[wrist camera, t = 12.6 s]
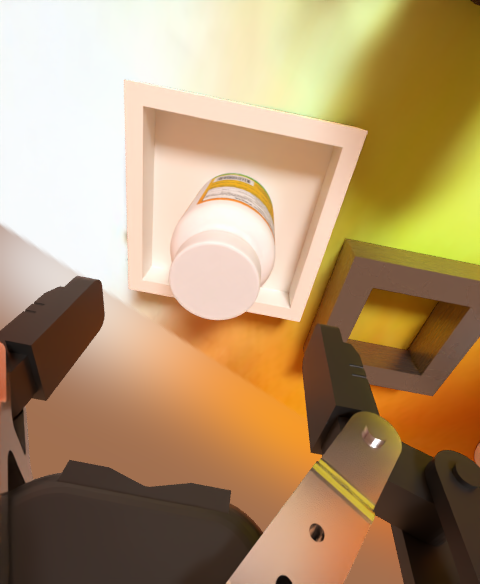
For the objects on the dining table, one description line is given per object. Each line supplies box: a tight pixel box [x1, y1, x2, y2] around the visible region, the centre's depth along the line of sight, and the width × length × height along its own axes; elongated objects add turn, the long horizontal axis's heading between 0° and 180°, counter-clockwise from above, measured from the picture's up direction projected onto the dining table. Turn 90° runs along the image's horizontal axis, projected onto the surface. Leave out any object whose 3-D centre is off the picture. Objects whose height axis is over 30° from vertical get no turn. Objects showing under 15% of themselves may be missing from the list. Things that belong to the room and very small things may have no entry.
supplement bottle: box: [169, 172, 275, 320], centre depth 17 cm, size 5×5×10 cm
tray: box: [124, 80, 368, 322], centre depth 21 cm, size 13×13×3 cm
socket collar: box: [303, 239, 480, 396], centre depth 24 cm, size 11×11×3 cm
